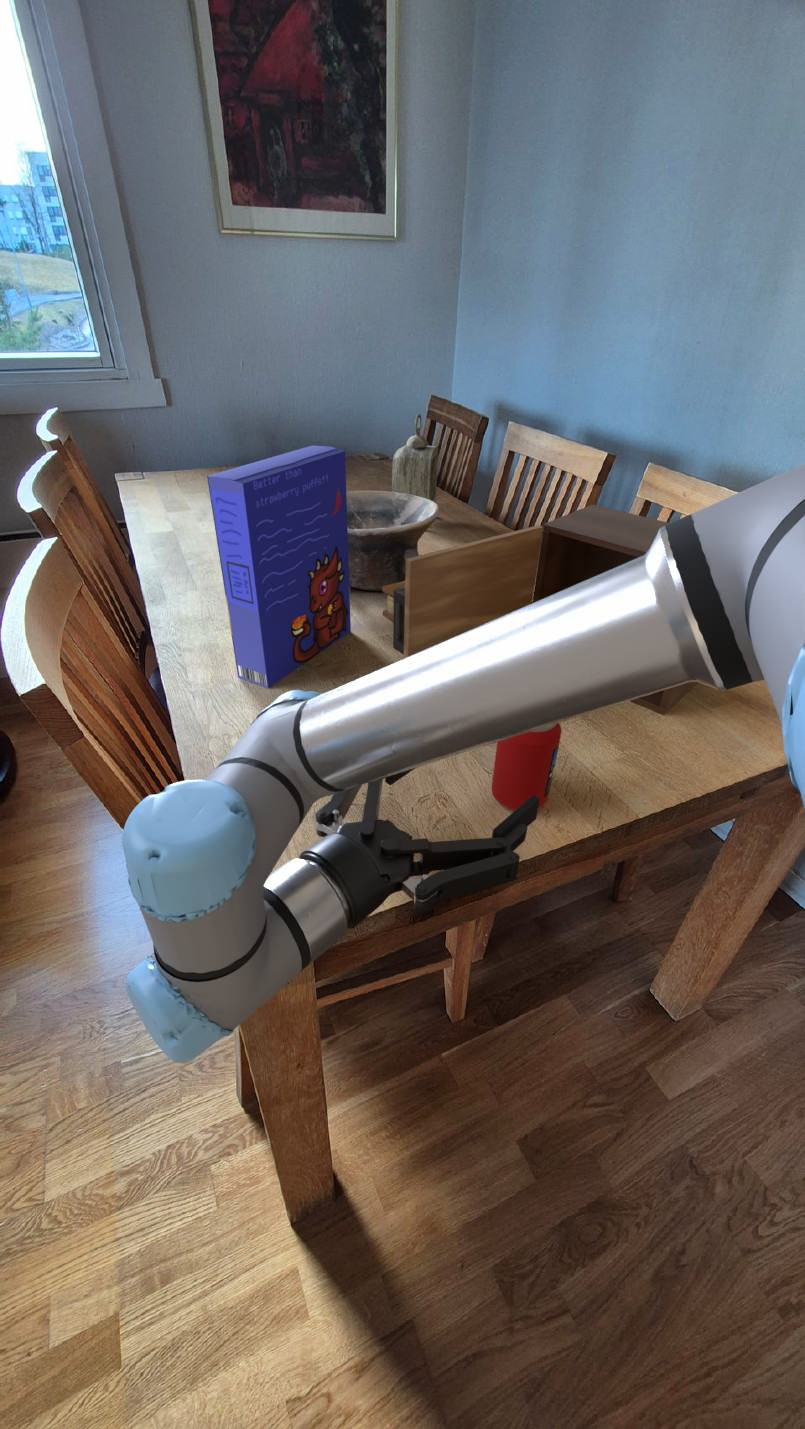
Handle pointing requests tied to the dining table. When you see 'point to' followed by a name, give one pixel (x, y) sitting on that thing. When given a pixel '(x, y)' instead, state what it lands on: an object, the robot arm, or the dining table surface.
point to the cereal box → (283, 558)
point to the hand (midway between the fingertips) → (479, 774)
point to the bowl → (384, 535)
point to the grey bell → (416, 467)
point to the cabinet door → (464, 588)
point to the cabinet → (598, 563)
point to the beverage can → (525, 766)
